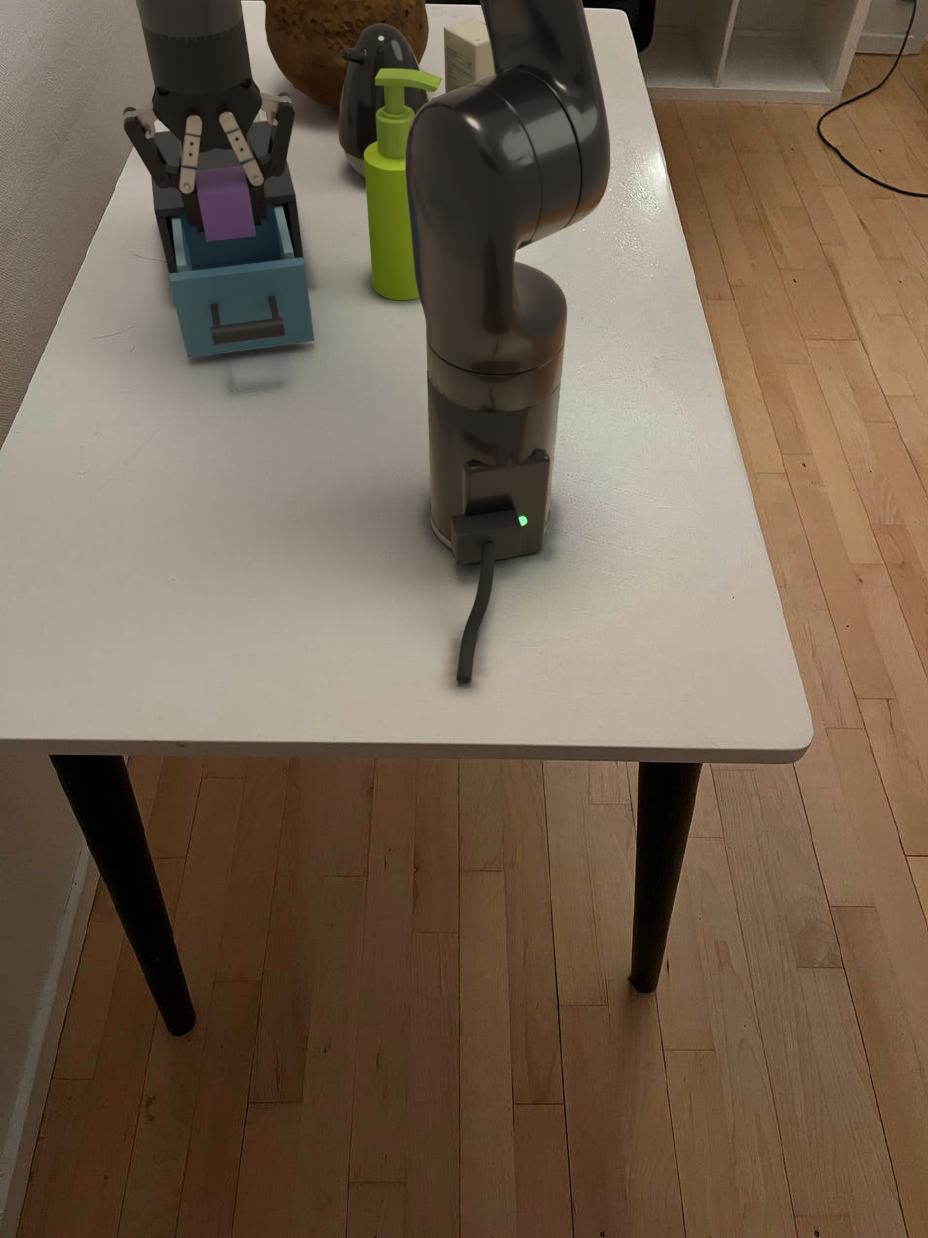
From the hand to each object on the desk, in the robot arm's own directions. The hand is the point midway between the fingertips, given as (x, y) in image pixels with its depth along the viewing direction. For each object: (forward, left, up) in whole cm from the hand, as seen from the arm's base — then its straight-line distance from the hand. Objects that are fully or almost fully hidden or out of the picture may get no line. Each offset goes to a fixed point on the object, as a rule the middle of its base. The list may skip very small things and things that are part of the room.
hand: (229, 223), depth 92 cm
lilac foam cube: (0, 0, 0) cm, 0 cm away
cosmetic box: (+29, -29, -10) cm, 42 cm away
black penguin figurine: (+25, -18, -10) cm, 33 cm away
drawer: (-1, 0, -9) cm, 9 cm away
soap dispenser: (+3, -16, -10) cm, 19 cm away
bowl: (+43, -17, -10) cm, 47 cm away
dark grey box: (+12, 0, -10) cm, 16 cm away
